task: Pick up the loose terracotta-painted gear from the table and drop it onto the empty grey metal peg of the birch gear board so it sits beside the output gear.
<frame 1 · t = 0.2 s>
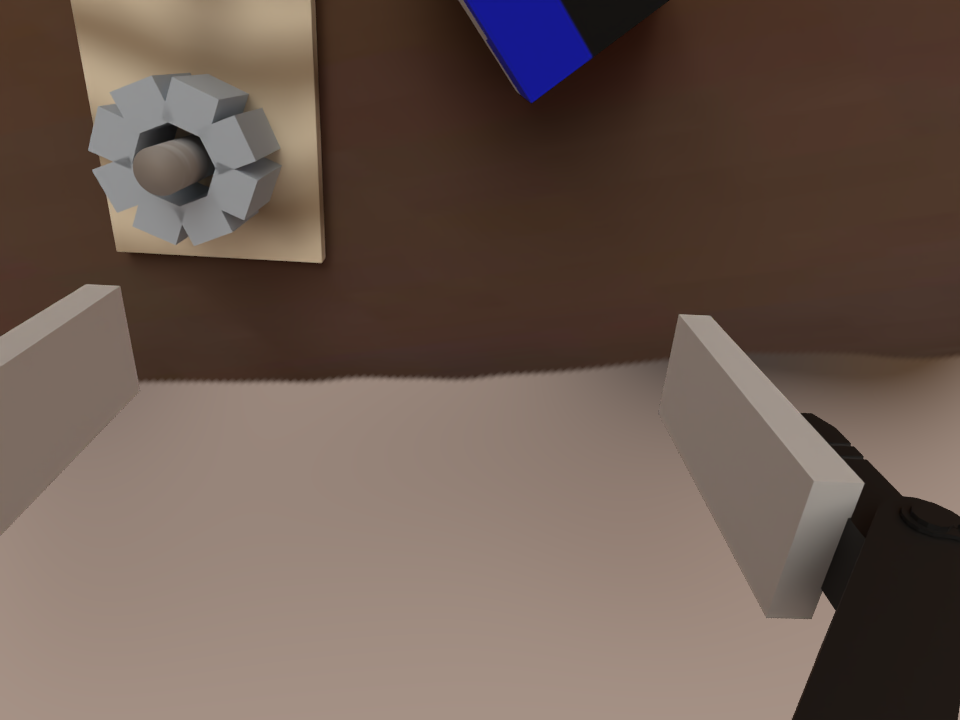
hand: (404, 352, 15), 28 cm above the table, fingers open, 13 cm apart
gear board: (204, 50, 37), on the table
output gear: (208, 152, 38), point 1 cm above the table, touching gear board
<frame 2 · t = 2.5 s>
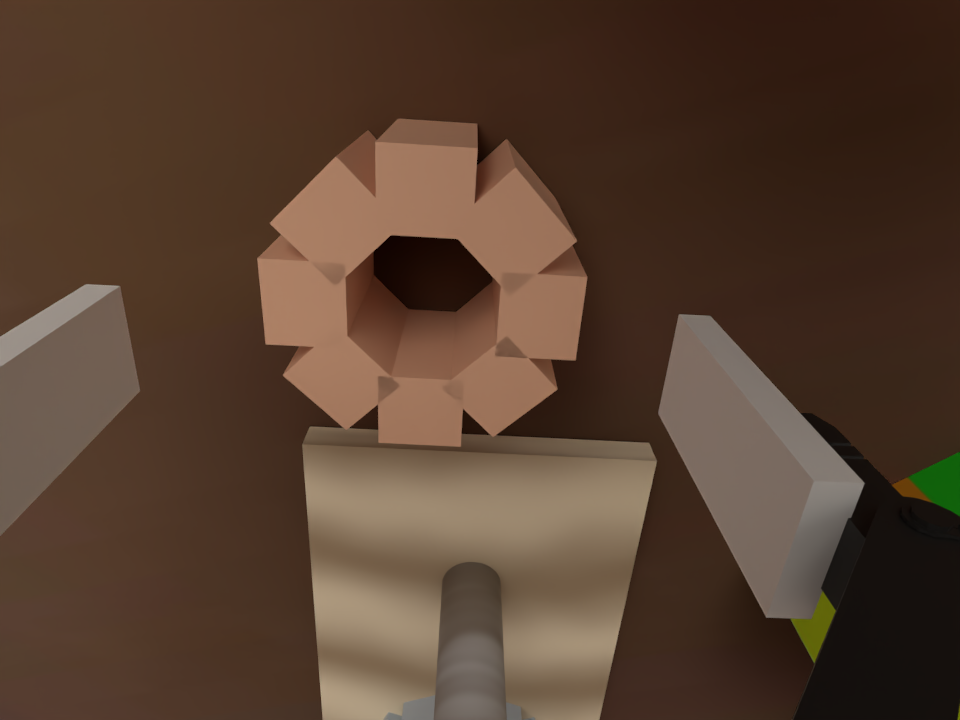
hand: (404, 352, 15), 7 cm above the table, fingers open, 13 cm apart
gear board: (465, 651, 30), on the table
puzzle toy: (905, 566, 28), on the table
loose gear: (433, 254, 21), on the table
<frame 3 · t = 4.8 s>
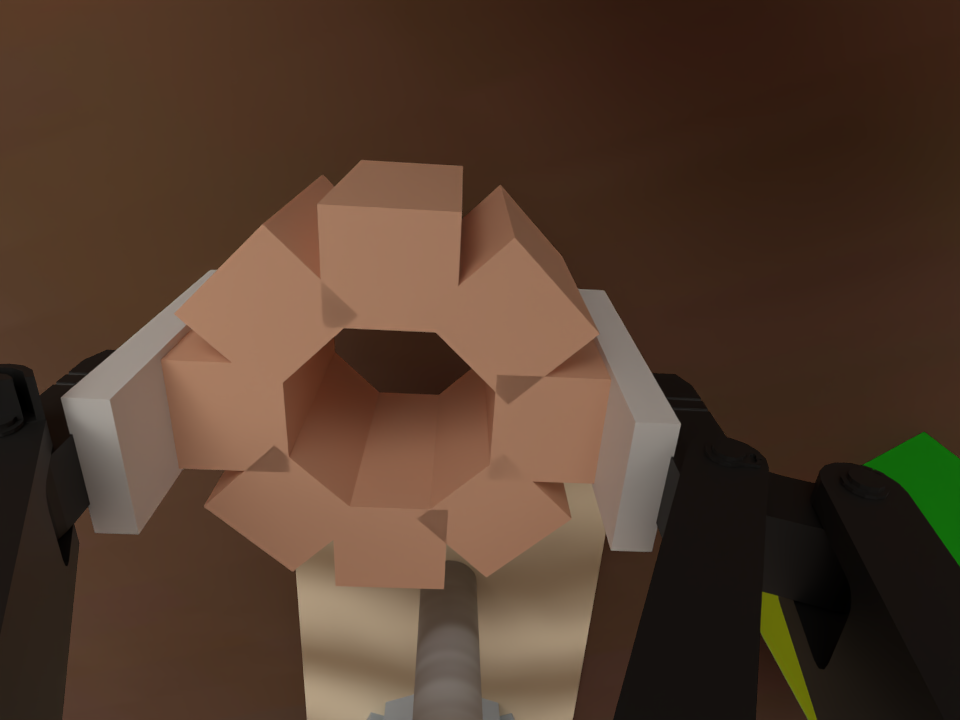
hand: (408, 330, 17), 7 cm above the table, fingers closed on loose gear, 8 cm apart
gear board: (444, 650, 31), on the table
puzzle toy: (853, 557, 30), on the table
loose gear: (409, 327, 17), point 7 cm above the table, touching gripper
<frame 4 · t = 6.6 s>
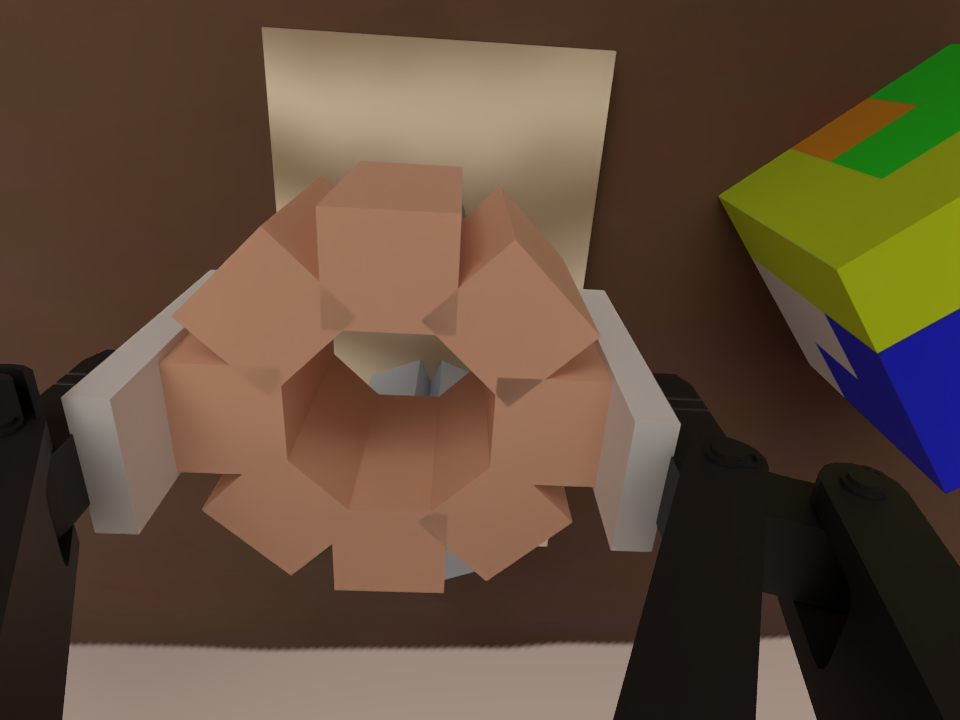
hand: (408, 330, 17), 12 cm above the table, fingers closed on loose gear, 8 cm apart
gear board: (433, 326, 30), on the table
puzzle toy: (868, 220, 28), on the table
loose gear: (409, 328, 17), point 12 cm above the table, touching gripper
output gear: (428, 439, 31), point 1 cm above the table, touching gear board
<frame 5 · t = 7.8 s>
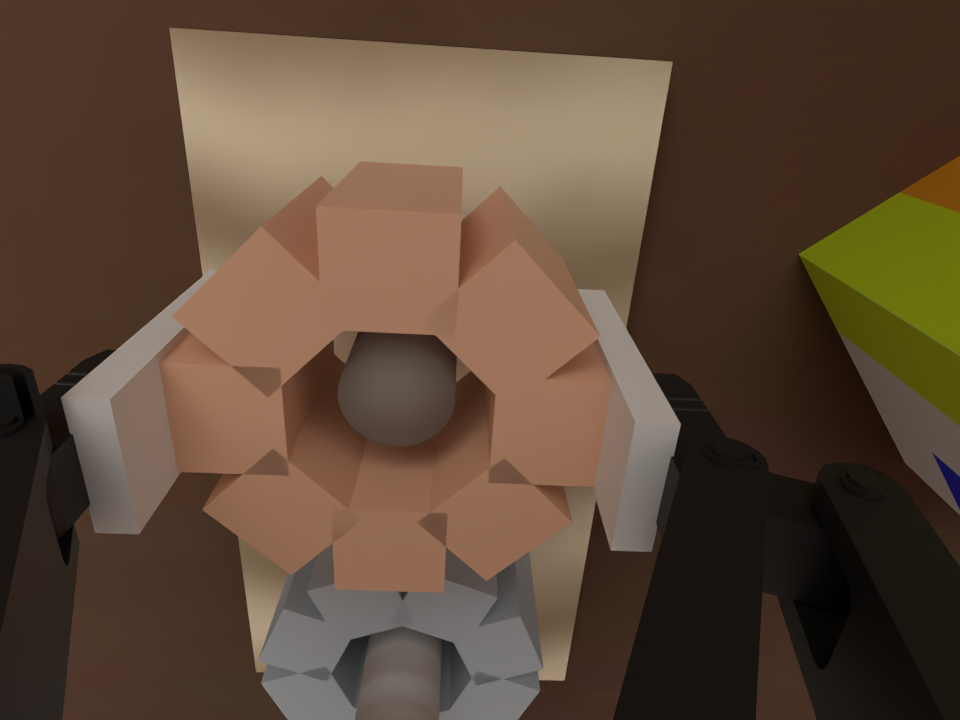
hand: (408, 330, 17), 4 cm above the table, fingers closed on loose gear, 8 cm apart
gear board: (419, 418, 23), on the table
loose gear: (409, 328, 17), point 4 cm above the table, touching gripper
output gear: (414, 559, 24), point 1 cm above the table, touching gear board
when the fingers open (2 cm above the table, at t = 8.8 s): loose gear stays where it is, resting on gear board.
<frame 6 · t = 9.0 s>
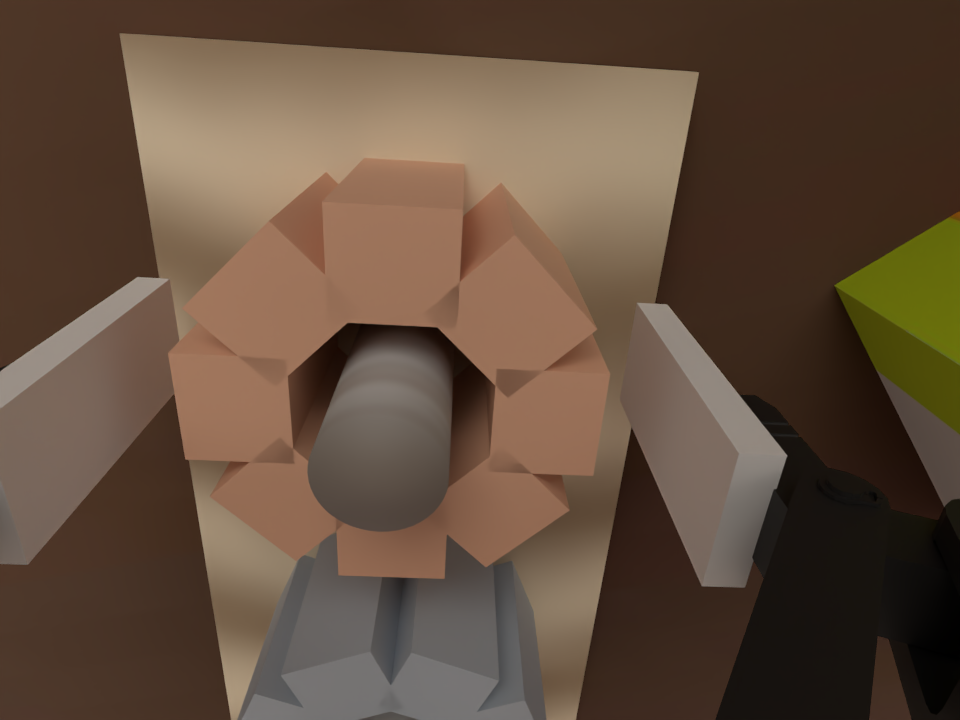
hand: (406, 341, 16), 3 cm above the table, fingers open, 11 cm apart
gear board: (411, 464, 21), on the table
loose gear: (411, 322, 17), point 1 cm above the table, touching gear board
output gear: (406, 618, 22), point 1 cm above the table, touching gear board
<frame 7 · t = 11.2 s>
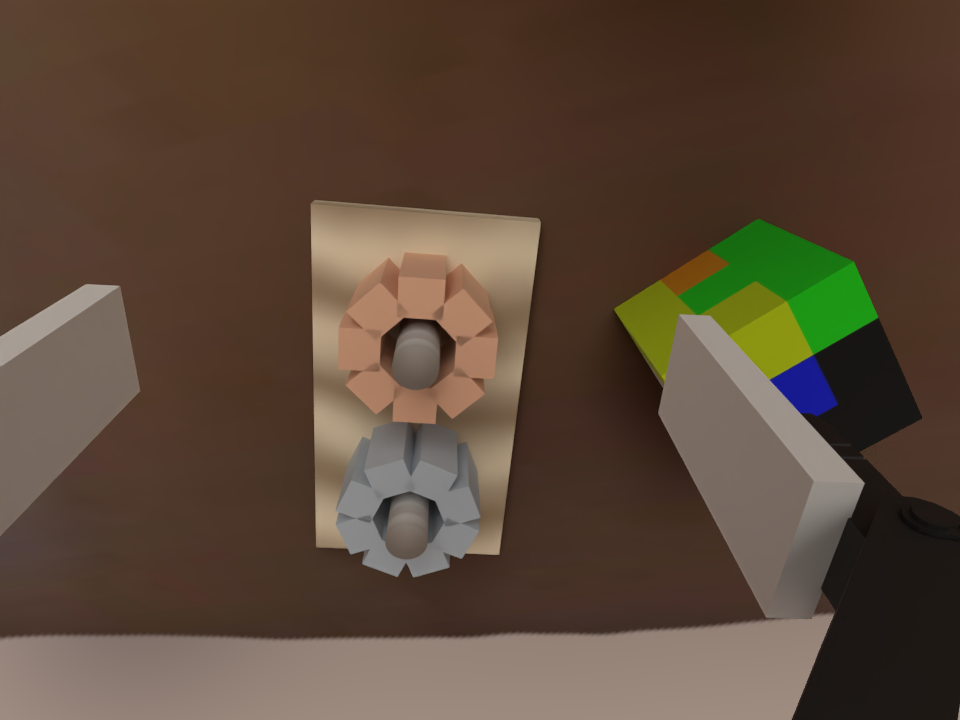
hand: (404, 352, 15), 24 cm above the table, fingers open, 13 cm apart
gear board: (417, 393, 42), on the table
puzzle toy: (717, 325, 41), on the table
loose gear: (421, 321, 39), point 1 cm above the table, touching gear board
output gear: (412, 474, 43), point 1 cm above the table, touching gear board
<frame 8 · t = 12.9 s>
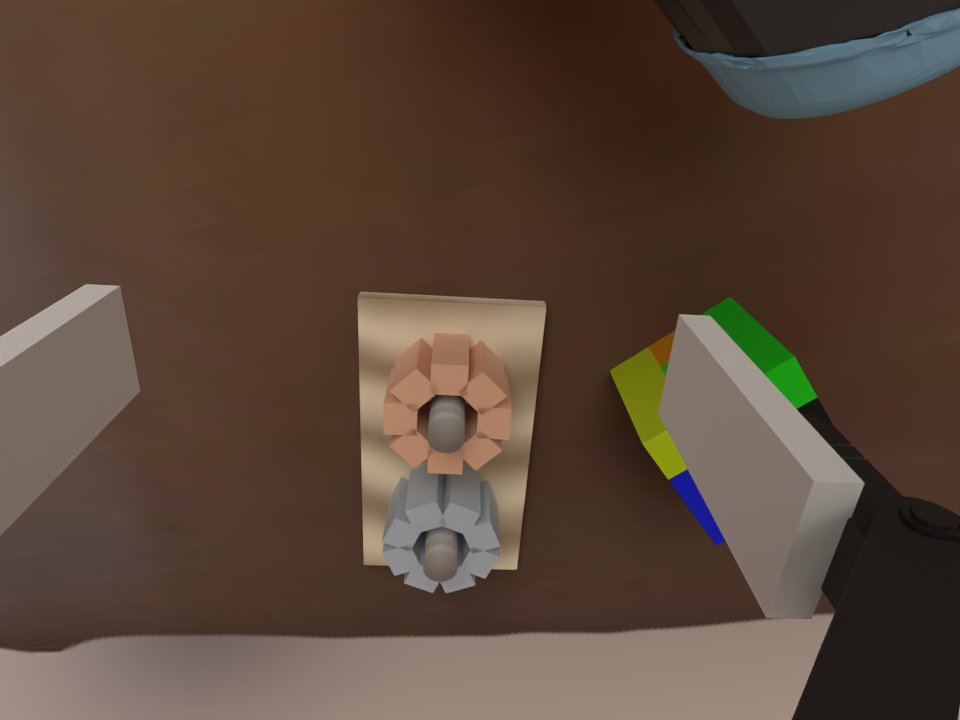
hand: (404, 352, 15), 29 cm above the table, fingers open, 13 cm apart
gear board: (446, 440, 50), on the table
puzzle toy: (698, 381, 49), on the table
loose gear: (449, 386, 47), point 1 cm above the table, touching gear board
output gear: (443, 506, 52), point 1 cm above the table, touching gear board
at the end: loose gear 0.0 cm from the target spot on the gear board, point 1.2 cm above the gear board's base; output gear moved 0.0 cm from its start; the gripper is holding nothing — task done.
